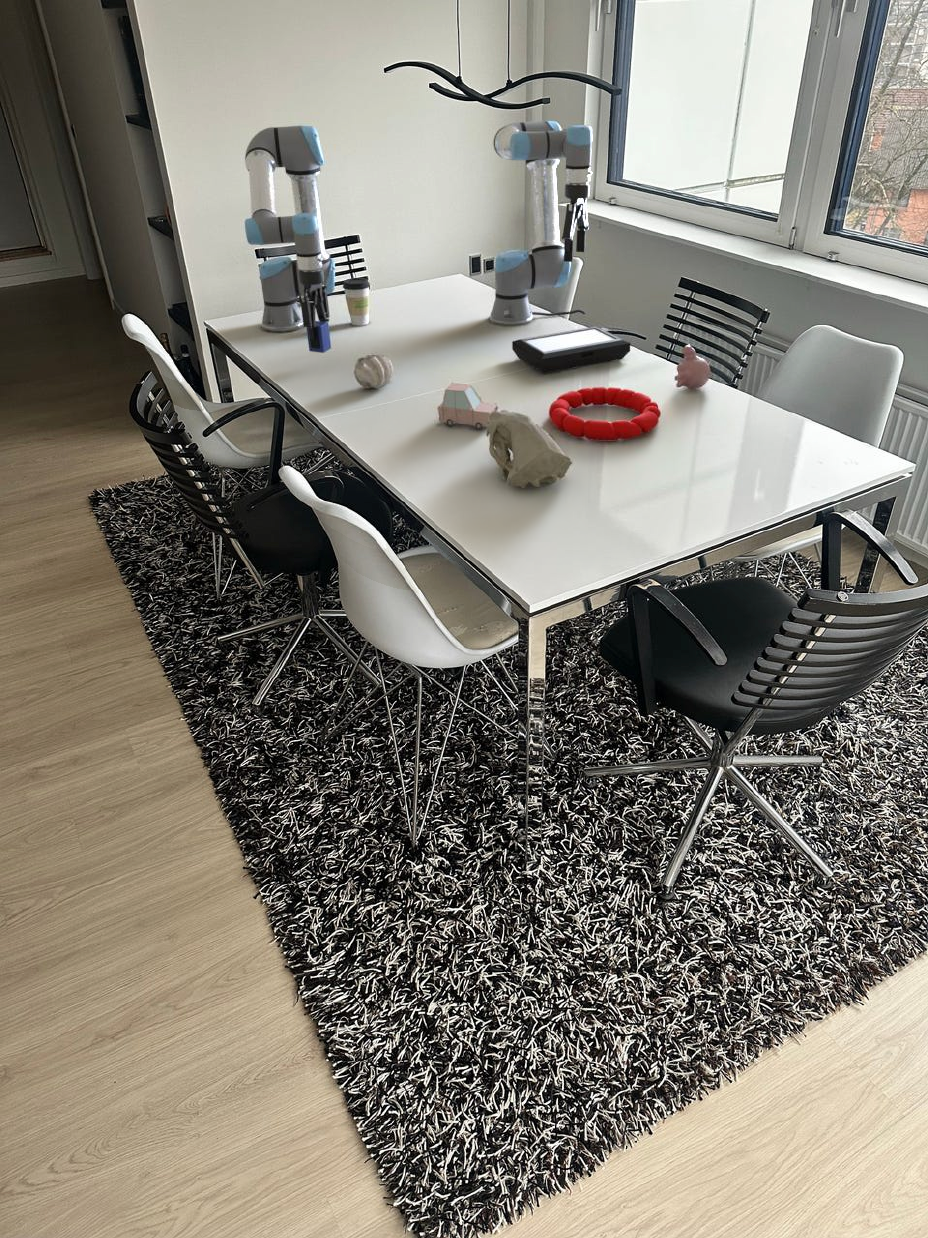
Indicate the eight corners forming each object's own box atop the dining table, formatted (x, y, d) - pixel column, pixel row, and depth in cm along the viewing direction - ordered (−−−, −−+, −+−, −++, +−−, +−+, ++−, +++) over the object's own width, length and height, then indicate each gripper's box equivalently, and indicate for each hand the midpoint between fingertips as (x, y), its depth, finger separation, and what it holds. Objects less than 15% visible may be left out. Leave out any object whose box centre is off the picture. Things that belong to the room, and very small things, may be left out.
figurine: (665, 387, 264) (669, 347, 257) (693, 380, 268) (698, 340, 261) (686, 396, 257) (690, 355, 250) (714, 388, 262) (720, 348, 255)
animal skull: (496, 517, 219) (521, 479, 201) (463, 429, 225) (484, 384, 207) (557, 503, 225) (586, 465, 206) (523, 417, 231) (549, 373, 212)
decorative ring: (589, 435, 224) (684, 402, 234) (527, 398, 247) (617, 369, 256) (589, 461, 229) (683, 427, 238) (529, 422, 251) (617, 393, 260)
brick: (323, 352, 283) (320, 326, 278) (309, 351, 285) (305, 324, 280) (331, 348, 287) (328, 321, 282) (316, 346, 288) (313, 320, 284)
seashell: (346, 386, 272) (343, 354, 266) (390, 377, 278) (388, 345, 272) (359, 397, 264) (356, 364, 259) (405, 387, 270) (402, 354, 264)
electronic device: (541, 356, 271) (512, 338, 286) (541, 376, 275) (512, 357, 290) (630, 340, 281) (597, 324, 296) (629, 359, 285) (596, 342, 300)
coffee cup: (372, 326, 323) (368, 283, 314) (345, 327, 323) (340, 284, 315) (374, 318, 331) (371, 276, 322) (348, 319, 331) (344, 277, 323)
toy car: (488, 432, 240) (488, 396, 234) (436, 426, 244) (434, 390, 239) (499, 419, 247) (499, 384, 241) (448, 413, 252) (447, 379, 246)
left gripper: (306, 277, 264) (315, 355, 277) (335, 262, 277) (343, 337, 290) (284, 275, 266) (295, 352, 279) (314, 261, 280) (323, 335, 293)
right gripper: (577, 190, 261) (574, 266, 273) (600, 176, 280) (596, 248, 292) (553, 189, 264) (551, 264, 276) (577, 176, 282) (574, 247, 295)
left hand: (319, 344), depth 285 cm, fingers closed on brick, 5 cm apart
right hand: (574, 256), depth 284 cm, fingers open, 13 cm apart
